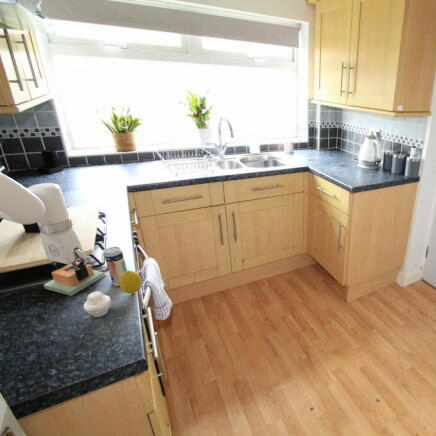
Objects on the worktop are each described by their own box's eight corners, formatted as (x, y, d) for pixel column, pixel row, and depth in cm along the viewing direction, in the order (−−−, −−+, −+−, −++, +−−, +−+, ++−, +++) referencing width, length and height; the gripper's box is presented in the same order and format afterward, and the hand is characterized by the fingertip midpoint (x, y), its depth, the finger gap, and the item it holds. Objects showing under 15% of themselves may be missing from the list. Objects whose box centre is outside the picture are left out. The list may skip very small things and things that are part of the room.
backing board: (71, 296, 95) (66, 283, 93) (44, 288, 98) (39, 276, 96) (105, 276, 105) (101, 264, 103) (79, 270, 107) (76, 258, 106)
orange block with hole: (72, 286, 97) (68, 277, 95) (54, 282, 98) (51, 272, 97) (94, 274, 103) (91, 264, 102) (77, 270, 105) (74, 260, 103)
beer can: (111, 281, 102) (101, 249, 97) (128, 276, 105) (119, 244, 100) (114, 289, 99) (104, 255, 94) (131, 283, 101) (122, 250, 97)
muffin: (84, 313, 88) (76, 293, 85) (109, 303, 92) (102, 283, 90) (91, 324, 84) (84, 303, 82) (117, 312, 89) (110, 292, 86)
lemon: (147, 292, 98) (141, 269, 94) (128, 301, 93) (122, 278, 90) (138, 285, 100) (132, 263, 97) (119, 294, 96) (112, 272, 93)
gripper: (20, 226, 92) (41, 277, 99) (65, 235, 88) (83, 288, 95) (48, 216, 99) (66, 265, 106) (90, 224, 94) (106, 274, 101)
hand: (74, 275), depth 100 cm, fingers closed on orange block with hole, 7 cm apart
